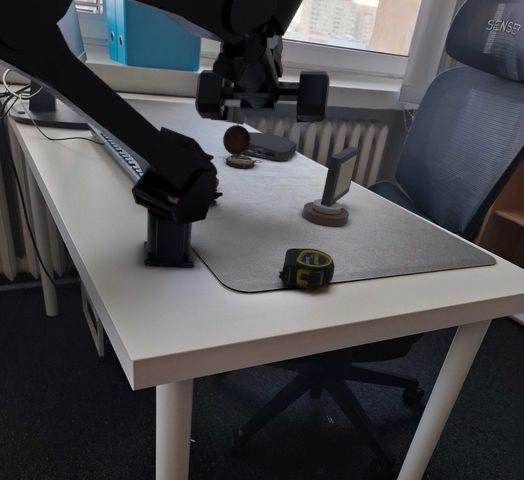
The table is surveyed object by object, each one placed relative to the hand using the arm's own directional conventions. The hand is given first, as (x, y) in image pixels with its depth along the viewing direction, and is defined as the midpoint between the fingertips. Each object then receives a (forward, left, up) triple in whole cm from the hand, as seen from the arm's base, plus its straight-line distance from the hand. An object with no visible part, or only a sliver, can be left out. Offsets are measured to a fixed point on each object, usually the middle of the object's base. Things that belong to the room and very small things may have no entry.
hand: (271, 122), depth 81 cm
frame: (+2, -14, -13) cm, 19 cm away
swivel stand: (-1, -12, -14) cm, 19 cm away
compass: (+29, -2, -15) cm, 32 cm away
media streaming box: (+42, -9, -15) cm, 45 cm away
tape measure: (-26, -1, -15) cm, 30 cm away
